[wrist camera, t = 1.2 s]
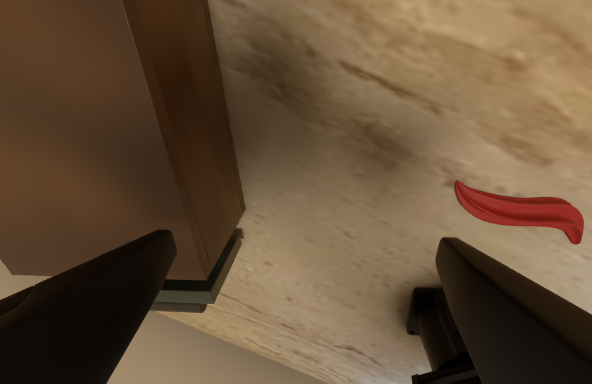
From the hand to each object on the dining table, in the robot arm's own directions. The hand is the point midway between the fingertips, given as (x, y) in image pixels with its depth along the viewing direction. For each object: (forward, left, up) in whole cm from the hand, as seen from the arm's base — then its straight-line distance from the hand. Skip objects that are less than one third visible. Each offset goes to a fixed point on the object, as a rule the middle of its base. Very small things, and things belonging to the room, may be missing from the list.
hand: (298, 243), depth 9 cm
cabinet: (+4, +14, -13) cm, 19 cm away
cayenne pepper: (-6, -16, -13) cm, 22 cm away
